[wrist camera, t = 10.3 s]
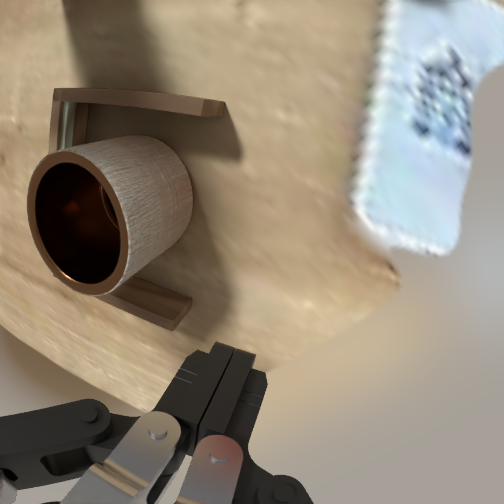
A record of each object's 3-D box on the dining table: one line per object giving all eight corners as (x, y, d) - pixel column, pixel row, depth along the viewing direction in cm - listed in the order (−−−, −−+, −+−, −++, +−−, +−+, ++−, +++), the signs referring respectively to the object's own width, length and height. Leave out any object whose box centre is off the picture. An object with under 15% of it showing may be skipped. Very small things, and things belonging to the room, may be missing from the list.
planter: (168, 112, 24) (89, 117, 16) (216, 230, 27) (159, 283, 19) (85, 163, 28) (10, 186, 20) (126, 260, 31) (64, 307, 23)
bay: (83, 87, 25) (54, 88, 22) (224, 101, 23) (203, 99, 19) (76, 261, 34) (53, 276, 30) (190, 308, 31) (172, 331, 28)
